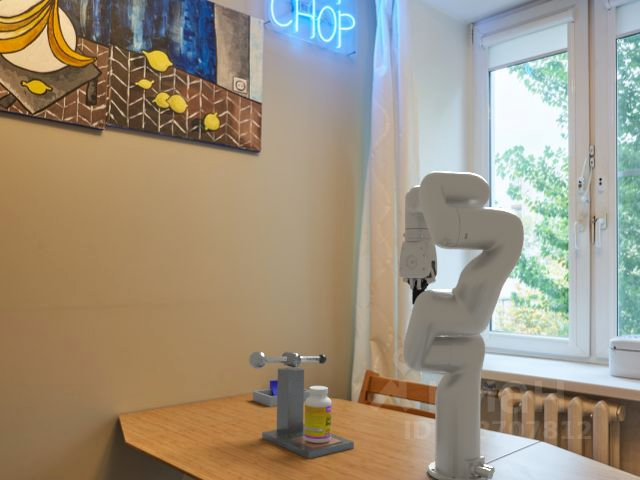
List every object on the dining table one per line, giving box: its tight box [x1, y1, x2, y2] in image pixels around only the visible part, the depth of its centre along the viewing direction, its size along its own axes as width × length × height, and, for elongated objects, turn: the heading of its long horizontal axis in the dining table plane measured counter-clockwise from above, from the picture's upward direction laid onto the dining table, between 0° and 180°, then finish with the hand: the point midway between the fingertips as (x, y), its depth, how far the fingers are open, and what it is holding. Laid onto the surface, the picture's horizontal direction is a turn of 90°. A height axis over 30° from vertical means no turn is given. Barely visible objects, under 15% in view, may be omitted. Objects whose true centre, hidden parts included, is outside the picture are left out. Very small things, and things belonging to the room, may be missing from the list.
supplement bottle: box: [304, 385, 332, 443], centre depth 141 cm, size 7×7×13 cm
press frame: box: [261, 366, 355, 459], centre depth 144 cm, size 20×14×18 cm
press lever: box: [248, 350, 328, 370], centre depth 150 cm, size 4×24×4 cm, turn 128°
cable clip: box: [269, 379, 278, 396], centre depth 191 cm, size 12×4×6 cm, turn 25°
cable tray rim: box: [252, 388, 310, 408], centre depth 191 cm, size 11×17×3 cm, turn 128°
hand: (418, 304), depth 152 cm, fingers closed
